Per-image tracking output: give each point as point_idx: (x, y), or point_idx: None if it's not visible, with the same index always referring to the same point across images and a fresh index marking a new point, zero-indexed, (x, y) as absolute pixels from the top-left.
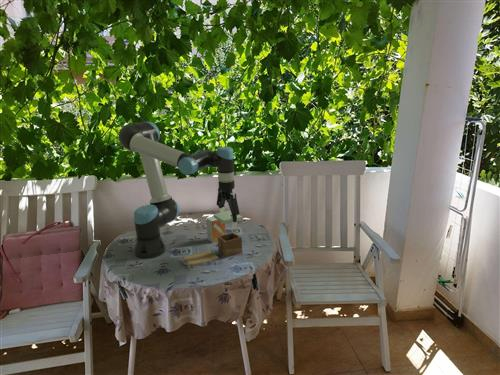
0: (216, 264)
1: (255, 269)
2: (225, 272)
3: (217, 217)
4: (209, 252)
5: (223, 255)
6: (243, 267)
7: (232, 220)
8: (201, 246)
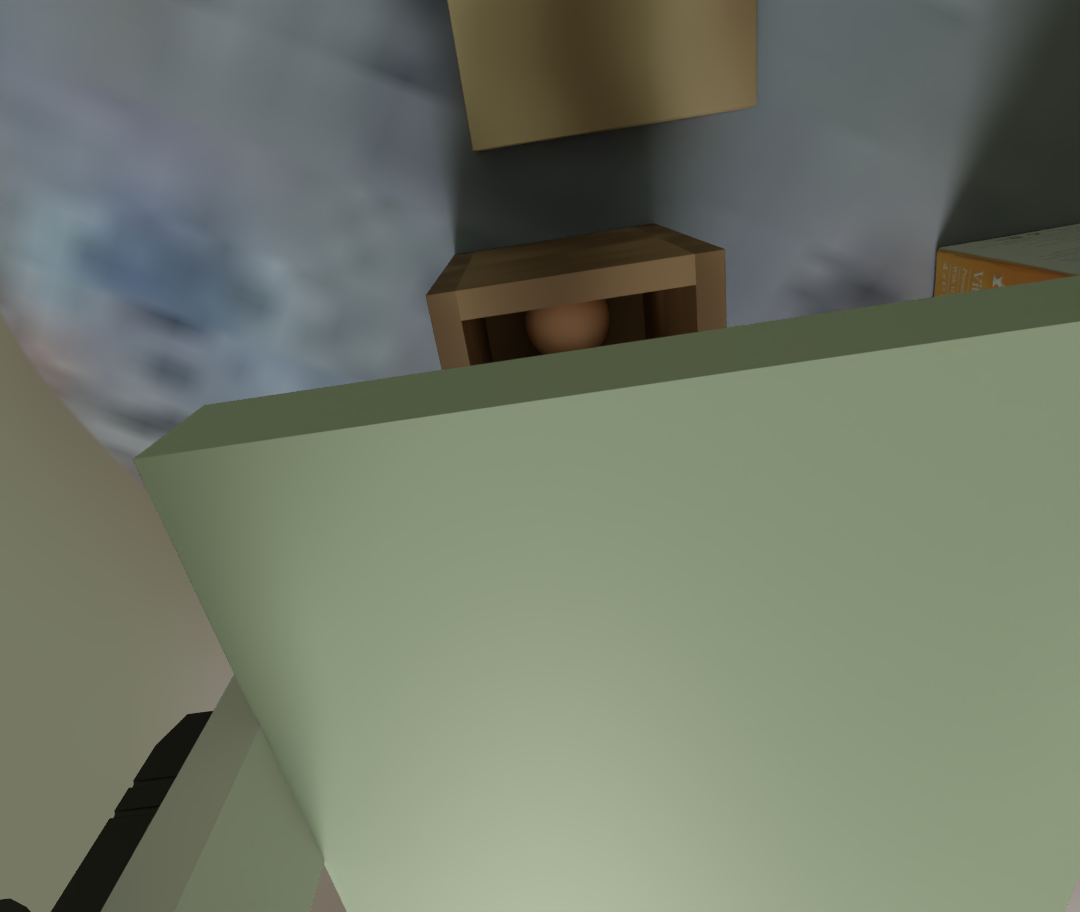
0: (366, 78)
1: (109, 448)
2: (111, 112)
3: (816, 348)
4: (675, 80)
5: (525, 245)
6: (186, 357)
7: (225, 725)
8: (988, 69)
